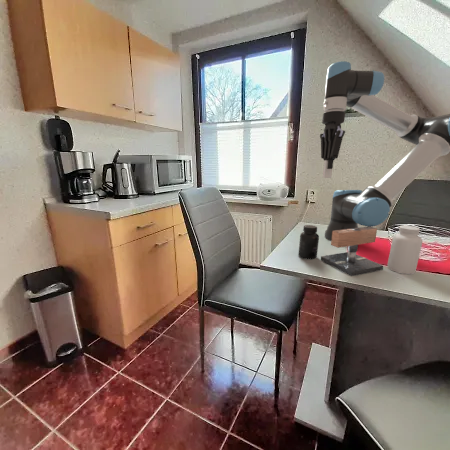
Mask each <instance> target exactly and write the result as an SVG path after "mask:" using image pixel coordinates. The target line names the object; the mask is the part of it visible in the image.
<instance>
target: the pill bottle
mask: <svg viewBox="0 0 450 450" xmlns="http://www.w3.org/2000/svg"><path fill="white" fill-rule="evenodd" d="M420 231H421V229H420V228H419V227H417V226H414V225H406V224H404V225H400V226H399V229H398V233H394V235H393V237H392V240H391V245H390V250H389V253H388V254H389V255H388V259H387V264H386V265H387V268H388V269H389V270H391V271H392V272H396V273H399V274H403V275H413V274H415V273H416V271H417V266H418V263H419V260H420V259H419V258H420V255H421V251H422V245H423V239H422V238H421V236H420Z"/></svg>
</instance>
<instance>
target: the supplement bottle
mask: <svg viewBox="0 0 450 450" xmlns="http://www.w3.org/2000/svg"><path fill="white" fill-rule="evenodd" d="M302 231H303V232H301V233H300V235H299V246H298V256H299V258H302V259H304V260H315V259H317V257H318V251H319V250H318V249H319V242H320V241H319V239H320V235H319V234H318V233H317V232H318V226H316V225H312V224H306V225H305V224H304V225H303V229H302Z"/></svg>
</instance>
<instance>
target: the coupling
mask: <svg viewBox="0 0 450 450" xmlns="http://www.w3.org/2000/svg"><path fill="white" fill-rule="evenodd" d="M377 232H378V228H376V227H375V226H373V227H370V226H363V227H362V226H361V227H358V228H352V229H344V230H335V231H333V232H332V240H330V241H331V242H330V246H332V247H334V248H337V249H338V248H344V247H345V248H346V247H347V252H348V251H351V252H356V253H357V252H358V248H359V245H364V244H371V243H376V238H377V234H378V233H377Z"/></svg>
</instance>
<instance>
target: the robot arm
mask: <svg viewBox="0 0 450 450" xmlns="http://www.w3.org/2000/svg"><path fill="white" fill-rule="evenodd" d="M326 71H327V72H326V78H325V90H324V91H325V92H324V101H323V112H324V113H323V114H322V119H321V121H322V122H321V123H322V124H323V125H324V129H323V132H322V133H320V135H319V137H320V155H321V156H320V158H321V159H323V161H324V162H323V173H322V178H323V179H329V178H330V179H331V178H332V175H333V167H334V161H335V160H336V159H338V158H339V153H340V150H341V146H342V142H343V137H344V135H345V133H346V130H342V124H344V122H345V117H346V112H345V111H346V110H347V107H349V108H351V109H352V110H354V111H356V112H358V113H359V114H361V115H363V116H365V117H367V118H369V119H371V120H372V121H374V122H376V123H378V124H380V125H382V126H384V127H386V128H388V129H390V130H392V131H393V132H395V134H396V136H397V137H399V138H400V139H403V140H404V141H407V142H408V143H410V144H413V145H415V146H414V147H413V148H411V150H410V151H409V152H408V153H407V154H406V155H404V157H403V158H402V159H401V160H399V161H398V162H397V163H396V164H395V166H393V167H392V168H391V169H390V170H389V171H388V172H386V174H385V175H384V176H383V177H382V178H381V179H380V180H378V181H377V182H376V184H374V185H371V186H367V187H366V188H365V189H364V190H363V191H362V190H361V189H342V190H341V189H337V190H335V191H334V192H333V195H332V199H331V200H332V201H331V211H330V220H329V223H328V224H327V227H326V230H325V232H324V238H325V239H327V240H329V241H331V240H332V232H333V231H335V230H344V229H352V228H359V226H363V227H368V226H370V227H377V226H379V225H381V224H383V223H384V222H385V221H386V220H387V219H388V217H389V216H390V211H391V207H392V206H393V200H394V199H395V198H396V197H397V196H398V195H399V194H401V192H402V191H404V190H405V189H406V188H407V187H408V186H409V185H410V184H411V183H412V182H413V181H414V180H416V178H418V176H420V175H421V173H423V172H424V171H425V170H426V169H427V168H428V167H429V166H430V165H431V164H433V162H435V161H436V160H437V159H438V158H439V157H442V156H443V157H444V156H447V155H448V154H450V113H449V114H443V115H437V116H432V117H430V116H429V117H422V116H419V115H418V114H414V113H413V114H409V113H407V112H405V111H403V110H401V109H399V108H398V107H396V106H394V105H393V104H391V103H389V102H387V101H385V100H384V99H381V98H380V97H378V96H376V95H377V94H379V92H380V91H382V89H383V86H384V84H385V74H384V72H382V71H376V70H374V69H373V70H353V69H352V64H351V63H350V62H349V61H345V60H344V61H343V60H342V61H336V62H333V63H331V64H330V65H329V66H328V68H327V70H326Z"/></svg>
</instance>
